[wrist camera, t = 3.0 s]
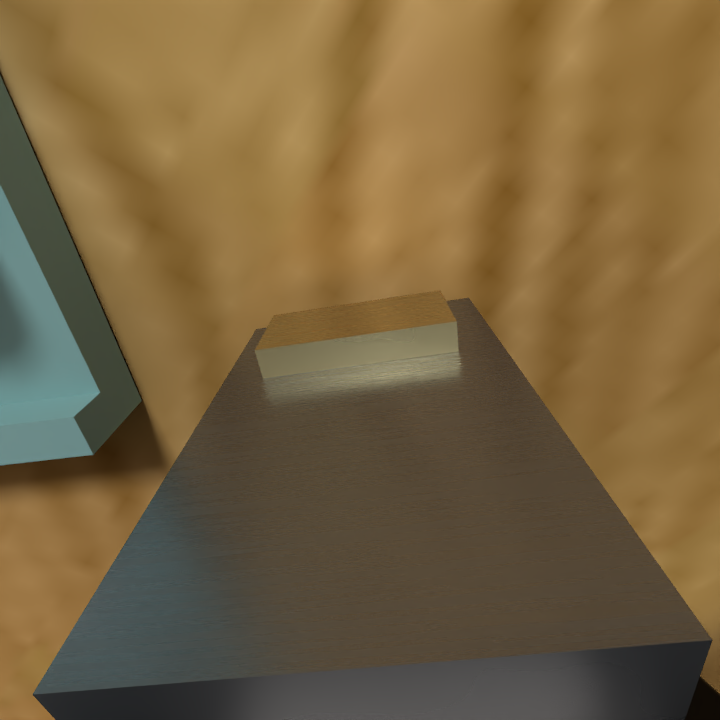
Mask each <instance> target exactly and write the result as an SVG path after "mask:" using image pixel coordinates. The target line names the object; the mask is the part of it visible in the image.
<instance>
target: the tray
mask: <svg viewBox="0 0 720 720" xmlns="http://www.w3.org/2000/svg"><path fill="white" fill-rule="evenodd" d="M141 401H142V400H141V398H140V395H139V393H138V391H137V388H136V386H135V384H134V382H133V379H132V377H131V375H130V372H129V370H128V368H127V365H126V363H125V361H124V359H123V356H122V354H121V352H120V349H119V347H118V345H117V342H116V340H115V338H114V336H113V333H112V331H111V329H110V326H109V324H108V322H107V319H106V317H105V315H104V313H103V310H102V308H101V306H100V303H99V301H98V299H97V296H96V294H95V292H94V290H93V287H92V285H91V283H90V280H89V278H88V276H87V273H86V271H85V269H84V267H83V264H82V262H81V260H80V257H79V255H78V253H77V251H76V248H75V246H74V244H73V241H72V239H71V237H70V234H69V232H68V230H67V228H66V225H65V223H64V221H63V218H62V216H61V214H60V211H59V209H58V207H57V205H56V202H55V200H54V198H53V195H52V193H51V191H50V188H49V186H48V184H47V182H46V179H45V177H44V175H43V172H42V170H41V168H40V165H39V163H38V161H37V159H36V156H35V154H34V152H33V149H32V147H31V145H30V142H29V140H28V138H27V136H26V133H25V131H24V129H23V126H22V124H21V122H20V119H19V117H18V115H17V113H16V110H15V108H14V106H13V103H12V101H11V99H10V96H9V94H8V92H7V90H6V87H5V85H4V83H3V80H2V78H1V76H0V465H8V464H17V463H26V462H34V461H43V460H52V459H61V458H69V457H78V456H87V455H94V454H95V452H96V451H97V450H98V449H99V448H100V447H101V446H102V445H103V444H104V442H105V441H106V440H107V439H108V438H109V437H110V436H111V435H112V433H113V432H114V431H115V430H116V429H117V428H118V427H119V426H120V425H121V423H122V422H123V421H124V420H125V419H126V418H127V417H128V416H129V414H130V413H131V412H132V411H133V410H134V409H135V408H136V407H137V406H138V404H139V403H140V402H141Z"/></svg>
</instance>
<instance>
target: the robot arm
mask: <svg viewBox="0 0 720 720" xmlns="http://www.w3.org/2000/svg"><path fill="white" fill-rule="evenodd" d="M685 720H720V694H719V693H718V692H717V691H716V690H715V689H714V688H712V687H711V686H710V685H709V684H708V683H707V682H706V681H705V680H704V679H702V678H701V677H699V680H698V683H697V686H696V689H695V691H694V694H693V697H692V700H691V703H690V706H689V709H688V712H687V715H686V717H685Z"/></svg>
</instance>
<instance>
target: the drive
mask: <svg viewBox="0 0 720 720" xmlns="http://www.w3.org/2000/svg"><path fill="white" fill-rule="evenodd" d="M711 642H712V639H711V638H710V636H709V635H708V633H707V632H706V630H705V629H704V628H703V626H702V625H701V623H700V622H699V621H698V619H697V618H696V616H695V615H694V614H693V612H692V611H691V609H690V608H689V607H688V605H687V604H686V602H685V601H684V600H683V598H682V597H681V595H680V594H679V593H678V591H677V590H676V588H675V587H674V586H673V584H672V583H671V581H670V580H669V578H668V577H667V576H666V574H665V573H664V571H663V570H662V569H661V567H660V566H659V564H658V563H657V562H656V560H655V559H654V557H653V556H652V555H651V553H650V552H649V550H648V549H647V548H646V546H645V545H644V543H643V542H642V541H641V539H640V538H639V536H638V535H637V534H636V532H635V531H634V529H633V528H632V527H631V525H630V524H629V522H628V521H627V519H626V518H625V517H624V515H623V514H622V512H621V511H620V510H619V508H618V507H617V505H616V504H615V503H614V501H613V500H612V498H611V497H610V496H609V494H608V493H607V491H606V490H605V489H604V487H603V486H602V484H601V483H600V482H599V480H598V479H597V477H596V476H595V475H594V473H593V472H592V470H591V469H590V467H589V466H588V465H587V463H586V462H585V460H584V459H583V458H582V456H581V455H580V453H579V452H578V451H577V449H576V448H575V446H574V445H573V444H572V442H571V441H570V439H569V438H568V437H567V435H566V434H565V432H564V431H563V430H562V428H561V427H560V425H559V424H558V423H557V421H556V420H555V418H554V417H553V415H552V414H551V413H550V411H549V410H548V408H547V407H546V406H545V404H544V403H543V401H542V400H541V399H540V397H539V396H538V394H537V393H536V392H535V390H534V389H533V387H532V386H531V385H530V383H529V382H528V380H527V379H526V378H525V376H524V375H523V373H522V372H521V371H520V369H519V368H518V366H517V365H516V364H515V362H514V361H513V359H512V358H511V356H510V355H509V354H508V352H507V351H506V349H505V348H504V347H503V345H502V344H501V342H500V341H499V340H498V338H497V337H496V335H495V334H494V333H493V331H492V330H491V328H490V327H489V326H488V324H487V323H486V321H485V320H484V319H483V317H482V316H481V314H480V313H479V312H478V310H477V309H476V307H475V306H474V304H473V303H472V302H471V300H470V299H469V298H465V299H458V300H451V301H445V299H444V297H443V295H442V293H441V291H433V292H427V293H420V294H413V295H407V296H400V297H393V298H387V299H380V300H373V301H367V302H360V303H353V304H347V305H340V306H333V307H327V308H320V309H313V310H307V311H300V312H293V313H287V314H280V315H274V316H273V318H272V320H271V322H270V324H269V325H268V327H267V328H262V329H256V331H255V332H254V334H253V335H252V337H251V339H250V340H249V342H248V344H247V345H246V347H245V349H244V350H243V352H242V353H241V355H240V357H239V358H238V360H237V362H236V363H235V365H234V367H233V368H232V370H231V371H230V373H229V375H228V376H227V378H226V380H225V381H224V383H223V384H222V386H221V388H220V389H219V391H218V393H217V394H216V396H215V398H214V399H213V401H212V402H211V404H210V406H209V407H208V409H207V411H206V412H205V414H204V415H203V417H202V419H201V420H200V422H199V424H198V425H197V427H196V429H195V430H194V432H193V433H192V435H191V437H190V438H189V440H188V442H187V443H186V445H185V447H184V448H183V450H182V451H181V453H180V455H179V456H178V458H177V460H176V461H175V463H174V464H173V466H172V468H171V469H170V471H169V473H168V474H167V476H166V478H165V479H164V481H163V482H162V484H161V486H160V487H159V489H158V491H157V492H156V494H155V496H154V497H153V499H152V500H151V502H150V504H149V505H148V507H147V509H146V510H145V512H144V513H143V515H142V517H141V518H140V520H139V522H138V523H137V525H136V527H135V528H134V530H133V531H132V533H131V535H130V536H129V538H128V540H127V541H126V543H125V545H124V546H123V548H122V549H121V551H120V553H119V554H118V556H117V558H116V559H115V561H114V562H113V564H112V566H111V567H110V569H109V571H108V572H107V574H106V576H105V577H104V579H103V580H102V582H101V584H100V585H99V587H98V589H97V590H96V592H95V593H94V595H93V597H92V598H91V600H90V602H89V603H88V605H87V607H86V608H85V610H84V611H83V613H82V615H81V616H80V618H79V620H78V621H77V623H76V625H75V626H74V628H73V629H72V631H71V633H70V634H69V636H68V638H67V639H66V641H65V642H64V644H63V646H62V647H61V649H60V651H59V652H58V654H57V656H56V657H55V659H54V660H53V662H52V664H51V665H50V667H49V669H48V670H47V672H46V674H45V675H44V677H43V678H42V680H41V682H40V683H39V685H38V687H37V688H36V690H35V691H34V693H33V696H34V697H35V698H36V699H37V700H38V701H39V702H40V703H41V704H42V705H43V706H44V707H45V709H46V710H47V711H48V712H49V713H50V714H51V715H52V716H53V717H54V718H55V719H56V720H685V717H686V715H687V712H688V709H689V706H690V703H691V700H692V697H693V694H694V691H695V689H696V686H697V683H698V680H699V677H700V674H701V671H702V668H703V665H704V663H705V660H706V657H707V654H708V651H709V648H710V645H711Z"/></svg>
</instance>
